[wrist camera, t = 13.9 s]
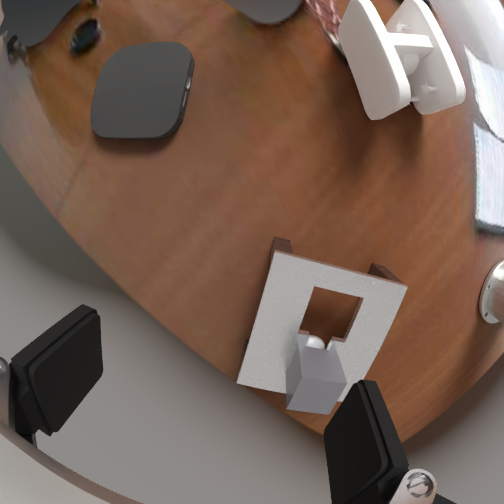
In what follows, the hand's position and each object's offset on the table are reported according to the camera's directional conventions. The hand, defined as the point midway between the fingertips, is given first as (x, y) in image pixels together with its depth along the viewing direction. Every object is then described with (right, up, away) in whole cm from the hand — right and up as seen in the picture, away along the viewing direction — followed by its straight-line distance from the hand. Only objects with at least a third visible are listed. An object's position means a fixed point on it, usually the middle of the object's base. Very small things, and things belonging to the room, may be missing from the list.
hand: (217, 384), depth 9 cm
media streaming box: (-14, +27, +24) cm, 39 cm away
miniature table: (+10, -4, +30) cm, 31 cm away
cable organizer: (+19, +30, +21) cm, 41 cm away
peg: (+9, -8, +26) cm, 29 cm away
